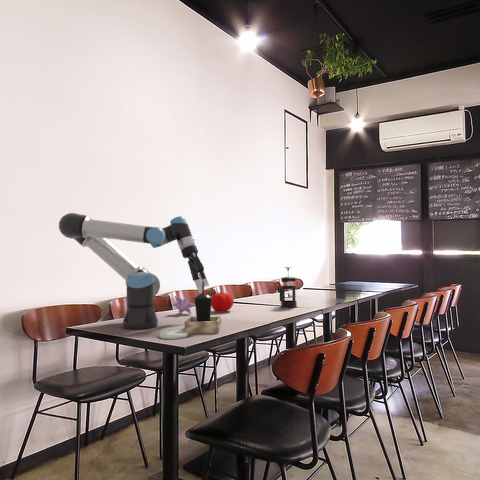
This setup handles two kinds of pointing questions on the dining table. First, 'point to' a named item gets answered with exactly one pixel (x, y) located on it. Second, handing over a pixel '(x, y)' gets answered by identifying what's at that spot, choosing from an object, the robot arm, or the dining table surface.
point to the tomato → (222, 302)
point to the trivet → (173, 334)
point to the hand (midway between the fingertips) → (204, 289)
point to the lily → (183, 305)
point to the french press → (282, 293)
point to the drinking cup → (203, 306)
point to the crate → (203, 325)
